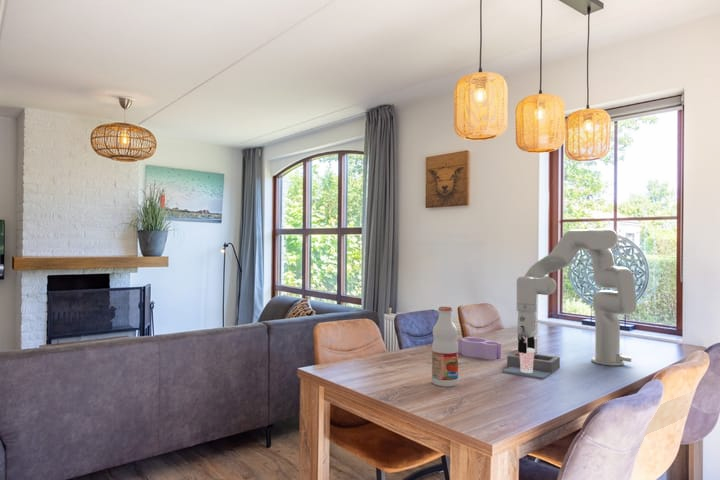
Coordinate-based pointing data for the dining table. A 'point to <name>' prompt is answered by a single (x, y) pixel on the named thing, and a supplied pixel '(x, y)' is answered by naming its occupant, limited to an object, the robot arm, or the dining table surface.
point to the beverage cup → (527, 360)
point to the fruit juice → (445, 350)
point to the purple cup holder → (479, 348)
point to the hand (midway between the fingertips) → (526, 350)
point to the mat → (534, 374)
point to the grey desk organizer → (537, 362)
